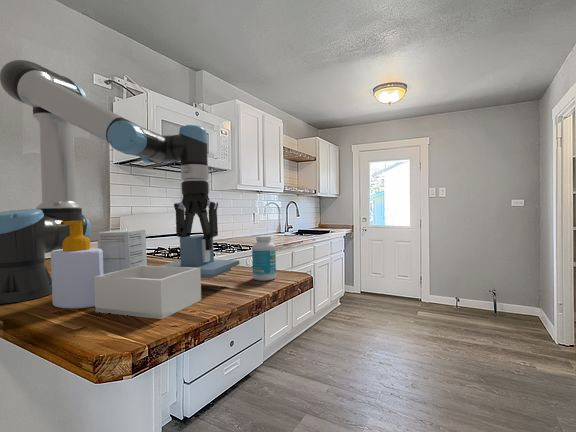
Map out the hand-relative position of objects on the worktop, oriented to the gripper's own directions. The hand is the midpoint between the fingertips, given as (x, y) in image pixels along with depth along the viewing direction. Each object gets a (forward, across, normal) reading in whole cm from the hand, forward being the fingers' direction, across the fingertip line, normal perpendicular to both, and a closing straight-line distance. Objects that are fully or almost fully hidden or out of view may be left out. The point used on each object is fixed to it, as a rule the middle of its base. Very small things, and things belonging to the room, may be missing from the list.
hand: (197, 261), depth 93 cm
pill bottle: (+8, +15, +14) cm, 22 cm away
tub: (+7, 0, -19) cm, 20 cm away
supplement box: (+8, -20, -7) cm, 23 cm away
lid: (+3, 0, 0) cm, 3 cm away
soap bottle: (+7, -19, -22) cm, 30 cm away
